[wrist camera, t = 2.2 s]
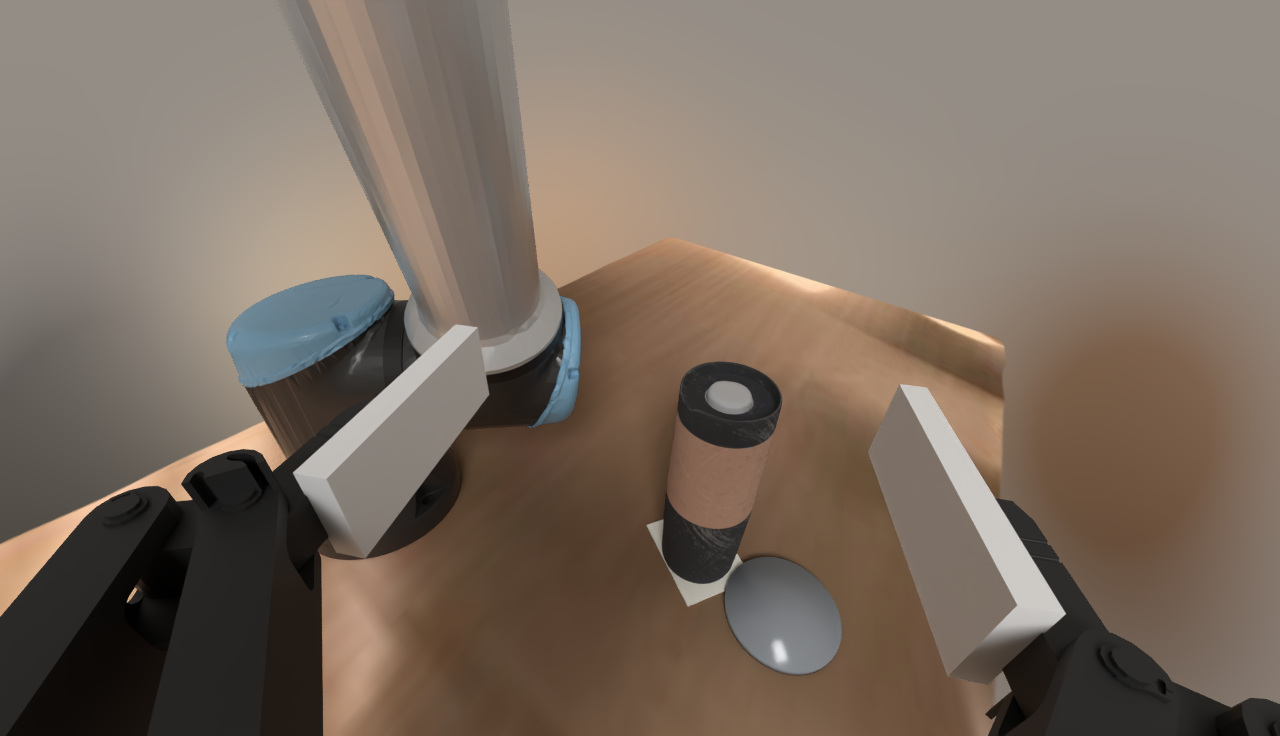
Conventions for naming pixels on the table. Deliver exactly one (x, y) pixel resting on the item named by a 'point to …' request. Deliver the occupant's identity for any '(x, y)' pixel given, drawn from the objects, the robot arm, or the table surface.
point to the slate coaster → (782, 616)
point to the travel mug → (716, 466)
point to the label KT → (688, 589)
